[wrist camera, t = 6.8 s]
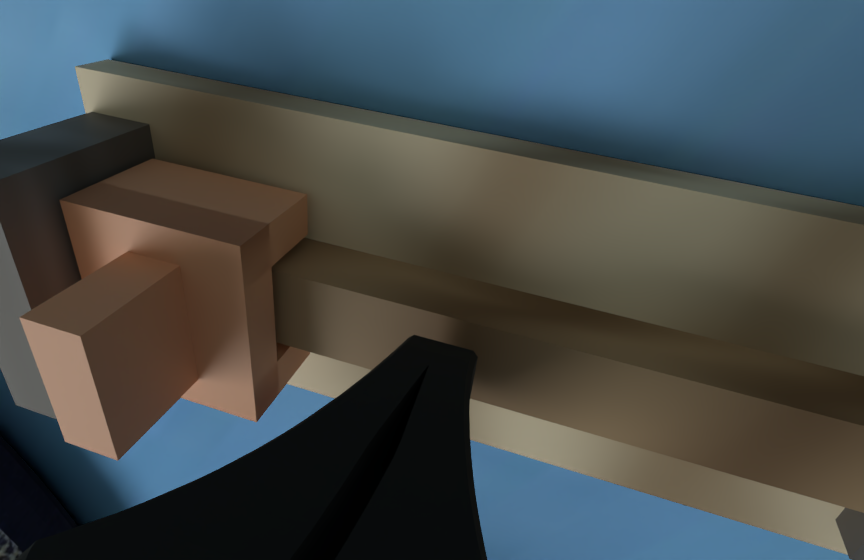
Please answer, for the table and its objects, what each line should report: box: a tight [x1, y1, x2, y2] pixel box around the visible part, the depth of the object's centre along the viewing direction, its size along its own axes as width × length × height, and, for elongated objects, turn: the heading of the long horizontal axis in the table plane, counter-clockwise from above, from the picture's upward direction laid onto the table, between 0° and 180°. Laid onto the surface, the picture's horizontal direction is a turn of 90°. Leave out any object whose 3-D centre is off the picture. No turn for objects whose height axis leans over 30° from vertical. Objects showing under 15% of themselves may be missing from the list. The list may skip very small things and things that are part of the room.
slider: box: [19, 159, 310, 460], centre depth 12 cm, size 4×5×5 cm
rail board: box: [0, 59, 864, 560], centre depth 12 cm, size 20×8×5 cm, turn 84°
